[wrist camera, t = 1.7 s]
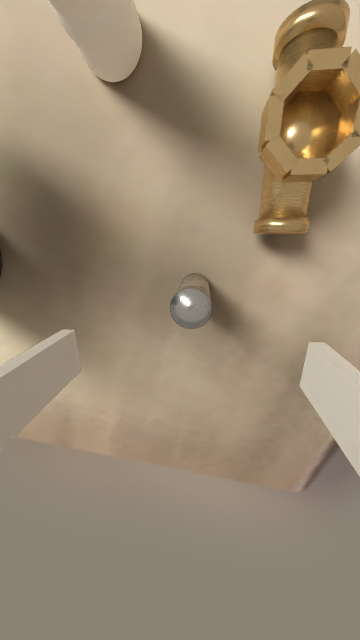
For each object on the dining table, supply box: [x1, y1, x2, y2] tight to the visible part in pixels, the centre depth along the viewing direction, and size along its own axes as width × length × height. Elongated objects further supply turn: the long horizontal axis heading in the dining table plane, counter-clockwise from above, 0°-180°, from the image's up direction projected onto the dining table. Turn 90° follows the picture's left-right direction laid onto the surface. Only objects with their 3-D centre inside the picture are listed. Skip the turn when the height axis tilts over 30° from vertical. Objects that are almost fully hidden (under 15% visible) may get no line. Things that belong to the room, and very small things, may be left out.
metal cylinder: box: [170, 273, 212, 329], centre depth 26 cm, size 4×4×12 cm
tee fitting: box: [253, 0, 360, 234], centre depth 22 cm, size 17×8×8 cm, turn 0°
